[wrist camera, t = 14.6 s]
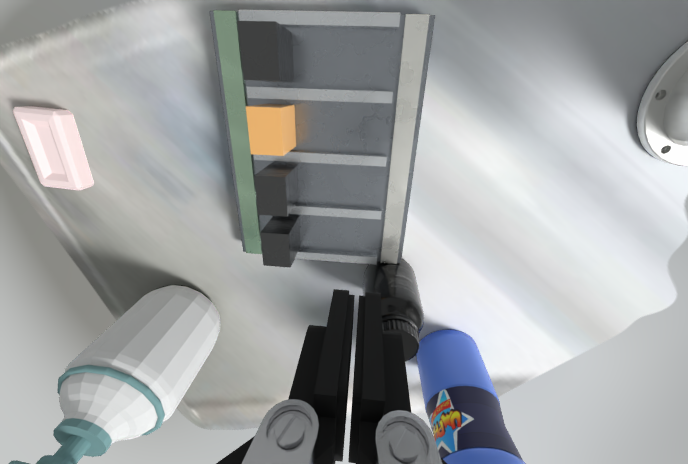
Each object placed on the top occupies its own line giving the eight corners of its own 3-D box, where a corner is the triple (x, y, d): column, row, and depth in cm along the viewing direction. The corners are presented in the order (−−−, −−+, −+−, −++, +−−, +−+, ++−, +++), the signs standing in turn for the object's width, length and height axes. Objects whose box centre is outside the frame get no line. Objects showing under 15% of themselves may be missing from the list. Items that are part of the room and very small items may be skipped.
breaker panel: (430, 20, 27) (448, -1, 21) (399, 254, 38) (404, 287, 32) (219, 16, 28) (176, -6, 22) (249, 244, 39) (225, 273, 33)
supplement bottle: (353, 271, 40) (346, 339, 29) (395, 245, 37) (404, 308, 27) (383, 304, 42) (386, 378, 31) (424, 281, 39) (444, 353, 29)
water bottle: (403, 356, 46) (432, 611, 23) (440, 319, 42) (519, 582, 20) (450, 380, 47) (521, 642, 25) (491, 346, 43) (619, 621, 21)
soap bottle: (148, 266, 42) (-283, 610, 14) (232, 290, 43) (-28, 664, 15) (150, 327, 48) (-159, 660, 20) (224, 347, 48) (24, 697, 21)
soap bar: (74, 110, 34) (54, 111, 31) (97, 185, 38) (80, 191, 36) (30, 105, 34) (7, 106, 32) (57, 181, 38) (38, 186, 36)
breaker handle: (294, 104, 29) (280, 107, 25) (296, 146, 31) (283, 155, 26) (265, 103, 29) (245, 106, 25) (268, 144, 31) (250, 154, 26)
